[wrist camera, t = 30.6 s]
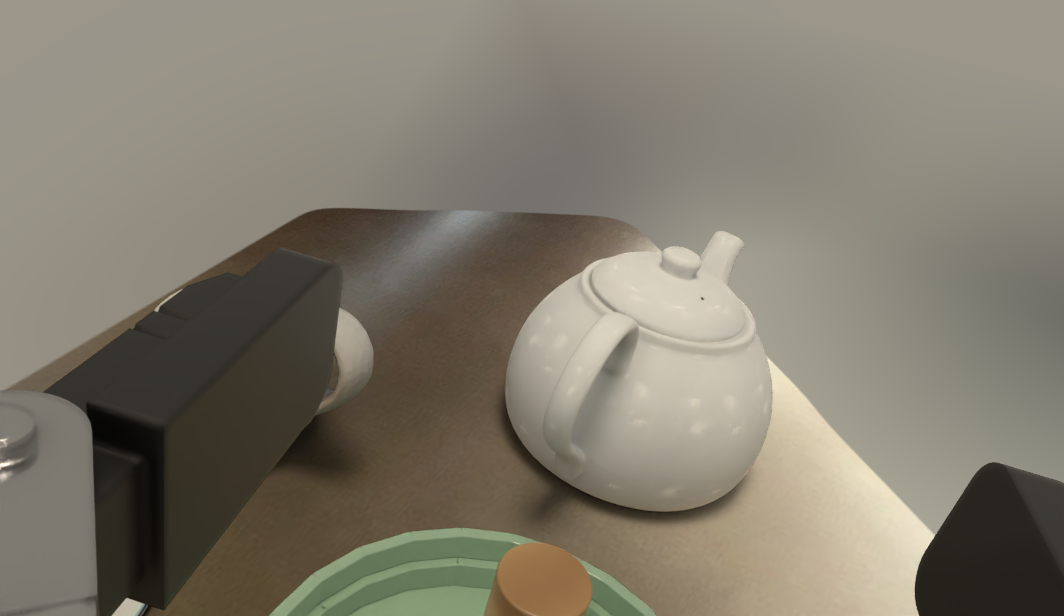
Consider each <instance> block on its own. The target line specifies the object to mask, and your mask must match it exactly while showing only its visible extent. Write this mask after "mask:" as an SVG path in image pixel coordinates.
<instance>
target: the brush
mask: <svg viewBox="0 0 1064 616" xmlns="http://www.w3.org/2000/svg"><path fill="white" fill-rule="evenodd" d="M591 599H592V583H591V579H590V576H589V574H588V572H587V570H586V569H585V567H584V566H583V565H582V564H581V562H580V561H579V560H578V559H576V558H575V557H574V556H573V555H572V554H570V553H569V552H567V551H565V550H563V549H561V548H559V547H557V546H554V545H550V544H546V543H538V542H535V543H525V544H521V545H518V546H516V547H514V548H512V549H510V550H509V551H508V552H507V553H506V554H505V555H504V556H503V557H502V558H501V560H500V561H499V564H498V566H497V570H496V573H495V577H494V580H493V584H492V587H491V591H490V594H489V598H488V601H487V605H486V608H485V612H484V615H483V616H585V615H586V613H587V610H588V607H589V605H590V602H591Z"/></svg>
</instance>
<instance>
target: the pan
mask: <svg viewBox="0 0 1064 616" xmlns="http://www.w3.org/2000/svg"><path fill="white" fill-rule="evenodd" d="M535 542H538V541H535V540H532V539H528V538H525V537H522V536H519V535H516V534H511V533H505V532H496V531H488V530H479V529H471V528H460V527H459V528H447V529H436V530H424V531H412V532H407V533H404V534H400V535H397V536H394V537H390V538H387V539H384V540H380V541H377V542H374V543H370V544H367V545H364V546H361V547H360V548H356V549H355V550H353V551H351V552H349V553H348V554H346V555H344V556H342V557H341V558H339V559H337V560H336V561H334V562H332V563H330V564H329V565H327V566H325V567H323V568H322V569H320V570H318V571H316V572H315V573H313V574H312V575H310V576H309V577H308V578H307V579H306V580H305V581H304V582H303V583H302V584H301V585H300V586H299V587H298V588H297V589H296V590H295V591H294V592H293V593H292V594H290V595H289V596H288V597H287V598H286V599H285V600H284V601H283V602H282V603H281V604H280V605H279V606H278V607H277V608H276V609H275V610H274V611H273V612H272V613H271V614H270V615H269V616H483V615H484V612H485V608H486V605H487V601H488V598H489V594H490V591H491V587H492V584H493V580H494V577H495V573H496V570H497V566H498V564H499V561H500V560H501V558H502V557H503V556H504V555H505V554H506V553H507V552H508V551H509V550H510V549H512V548H514V547H516V546H518V545H521V544H525V543H535ZM538 543H541V542H538ZM573 556H574V555H573ZM574 557H575V558H576V559H578V560H579V561H580V562H581V564H582V565H583V566H584V567H585V569H586V570H587V572H588V574H589V576H590V579H591V583H592V599H591V602H590V605H589V607H588V610H587V613H586V615H585V616H657V615H656V614H655V613H654V611H653V610H651V608H650V607H649V606H647V605H646V604H645V603H644V602H643V601H641V600H640V599H639V598H638V597H636V596H635V595H634V594H633V593H631V592H630V591H629V590H628V589H626V588H625V587H624V586H623V585H622V584H620V583H619V582H618V581H617V580H615V579H614V578H613V577H612V576H610V575H608V574H607V573H605V572H603V571H602V570H600V569H598V568H596V567H594V566H592V565H590V564H589V563H587V562H585V561H583V560H581V559H579V558H577V557H576V556H574Z"/></svg>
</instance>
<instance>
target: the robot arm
mask: <svg viewBox="0 0 1064 616" xmlns="http://www.w3.org/2000/svg"><path fill="white" fill-rule="evenodd" d="M341 290H342V270H341V267H340V266H339V265H338V264H335V263H332V262H329V261H325V260H322V259H319V258H315V257H312V256H308V255H305V254H302V253H298V252H295V251H292V250H288V249H285V248H279V249H276V250H275V251H274V252H272V253H271V254H270V255H269V256H267V257H266V258H265V259H264V260H262V261H261V262H260V263H259V264H257V265H256V266H255V267H254V268H252V269H251V270H250V271H249V272H247V273H246V274H245V275H244V276H242V277H241V276H238V275H234V274H231V273H225V274H222V275H219V276H216V277H213V278H210V279H207V280H203V281H200V282H197V283H194V284H191V285H188V286H187V287H185V288H184V289H183V290H181V291H180V292H178V293H177V294H176V295H174V296H173V297H172V298H170V299H169V300H168V301H166V302H165V303H164V304H162V305H161V306H159V310H158V312H157V311H153V312H151V313H150V314H149V315H147V316H146V317H144V318H143V319H142V320H140V321H139V322H138V323H136V325H135V328H134V330H132V329H128V330H127V331H125V332H124V333H123V334H121V335H120V336H119V337H117V338H116V339H115V340H113V341H112V342H110V343H109V344H108V345H106V346H105V347H104V348H102V349H101V350H100V351H98V352H97V353H96V354H94V355H93V356H91V357H90V358H89V359H87V360H86V361H85V362H83V363H82V364H81V365H79V366H78V367H76V368H75V369H74V370H72V371H71V372H70V373H68V374H67V375H66V376H64V377H63V378H62V379H60V380H59V381H57V382H56V383H55V384H53V385H52V386H51V387H49V388H48V389H47V390H45V391H44V392H36V391H24V390H7V391H0V616H112V615H113V613H114V612H115V611H116V610H117V609H118V607H119V606H120V605H121V604H122V603H123V602H124V600H125V599H126V598H128V599H131V600H134V601H137V602H140V603H143V604H146V605H149V606H152V607H155V608H158V609H161V610H165V609H166V607H167V606H168V605H169V603H170V602H171V601H172V599H173V598H174V597H175V596H176V594H177V593H178V592H179V590H180V589H181V588H182V586H183V585H184V584H185V583H186V581H187V580H188V579H189V577H190V576H191V575H192V573H193V572H194V571H195V570H196V568H197V567H198V566H199V564H200V563H201V562H202V560H203V559H204V558H205V556H206V555H207V554H208V553H209V551H210V550H211V549H212V547H213V546H214V545H215V543H216V542H217V541H218V540H219V538H220V537H221V536H222V534H223V533H224V532H225V530H226V529H227V528H228V527H229V525H230V524H231V523H232V521H233V520H234V519H235V517H236V516H237V515H238V514H239V512H240V511H241V510H242V508H243V507H244V506H245V504H246V503H247V502H248V501H249V499H250V498H251V497H252V495H253V494H254V493H255V491H256V490H257V489H258V488H259V486H260V485H261V484H262V482H263V481H264V480H265V478H266V477H267V476H268V474H269V473H270V472H271V471H272V469H273V468H274V467H275V465H276V464H277V463H278V461H279V460H280V459H281V458H282V456H283V455H284V454H285V452H286V451H287V450H288V448H289V447H290V446H291V445H292V443H293V442H294V441H295V439H296V438H297V437H298V435H299V434H300V433H301V432H302V430H303V429H304V428H305V426H306V425H307V424H308V422H309V421H310V420H311V419H312V417H313V416H314V414H315V413H316V411H317V409H318V408H319V406H320V404H321V402H322V399H323V397H324V395H325V392H326V389H327V386H328V383H329V379H330V375H331V370H332V364H333V355H334V347H335V339H336V331H337V323H338V315H339V307H340V299H341ZM915 601H916V606H917V610H918V613H919V616H1064V483H1062V482H1060V481H1057V480H1054V479H1050V478H1047V477H1044V476H1040V475H1037V474H1033V473H1030V472H1027V471H1024V470H1020V469H1017V468H1013V467H1010V466H1007V465H1004V464H1000V463H995V462H993V463H989V464H986V465H985V466H983V467H982V468H981V469H980V470H979V471H978V472H977V473H976V474H975V475H974V477H973V478H972V480H971V481H970V483H969V484H968V486H967V487H966V489H965V490H964V492H963V494H962V495H961V497H960V498H959V500H958V501H957V503H956V505H955V506H954V508H953V509H952V511H951V512H950V514H949V515H948V517H947V518H946V520H945V521H944V523H943V525H942V526H941V528H940V530H939V531H938V532H937V534H936V535H935V537H934V539H933V540H932V542H931V543H930V545H929V546H928V548H927V549H926V551H925V553H924V555H923V556H922V559H921V561H920V564H919V567H918V571H917V575H916V581H915Z"/></svg>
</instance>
